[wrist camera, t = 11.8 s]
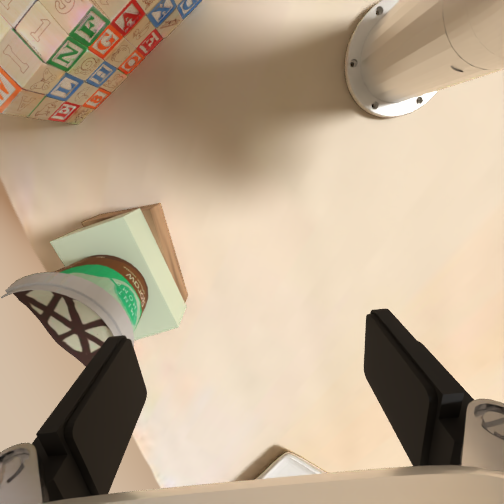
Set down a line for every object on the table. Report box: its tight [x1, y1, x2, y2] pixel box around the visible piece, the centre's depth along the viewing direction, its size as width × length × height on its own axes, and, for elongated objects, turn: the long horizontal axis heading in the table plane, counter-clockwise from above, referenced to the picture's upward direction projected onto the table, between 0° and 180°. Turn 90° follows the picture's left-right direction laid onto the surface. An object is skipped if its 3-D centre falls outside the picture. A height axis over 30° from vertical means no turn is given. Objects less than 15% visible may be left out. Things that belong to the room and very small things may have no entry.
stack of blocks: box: [0, 0, 202, 124], centre depth 27 cm, size 21×6×12 cm, turn 128°
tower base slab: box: [82, 203, 188, 302], centre depth 40 cm, size 9×15×5 cm, turn 10°
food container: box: [1, 255, 148, 366], centre depth 28 cm, size 12×6×10 cm, turn 29°
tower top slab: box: [50, 208, 186, 340], centre depth 35 cm, size 9×15×5 cm, turn 18°
